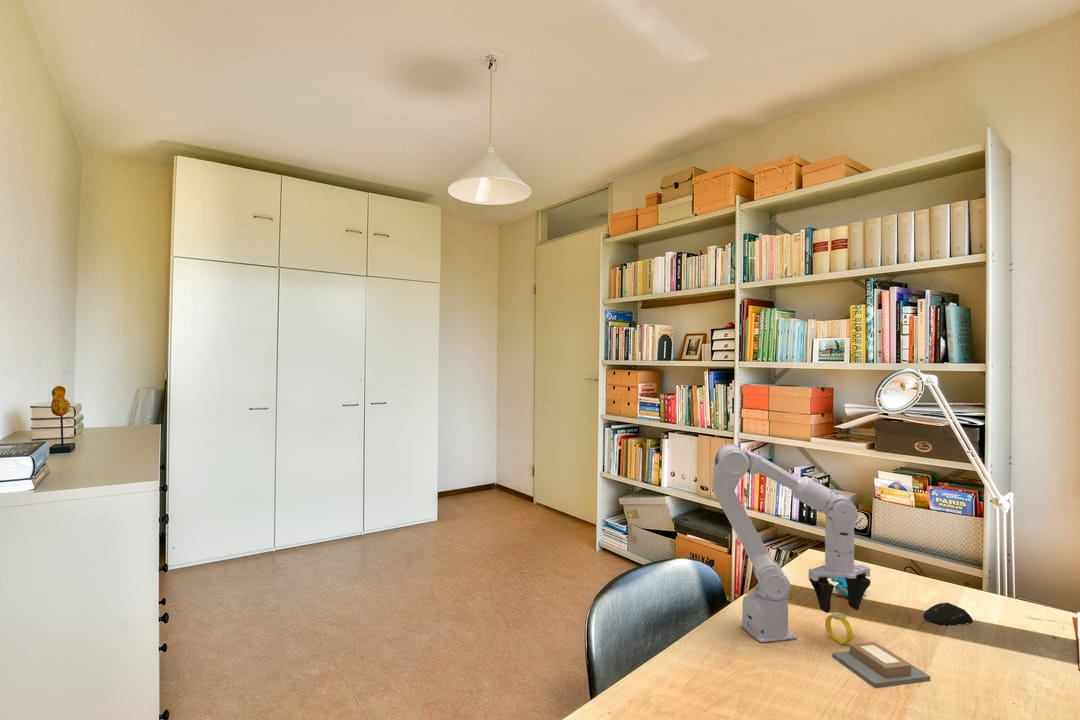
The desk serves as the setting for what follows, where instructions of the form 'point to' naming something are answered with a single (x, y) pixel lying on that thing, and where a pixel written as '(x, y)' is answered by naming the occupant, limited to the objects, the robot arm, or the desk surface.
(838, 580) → the blue virus model
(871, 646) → the base board
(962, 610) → the gaming mouse
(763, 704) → the desk surface
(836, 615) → the watch
